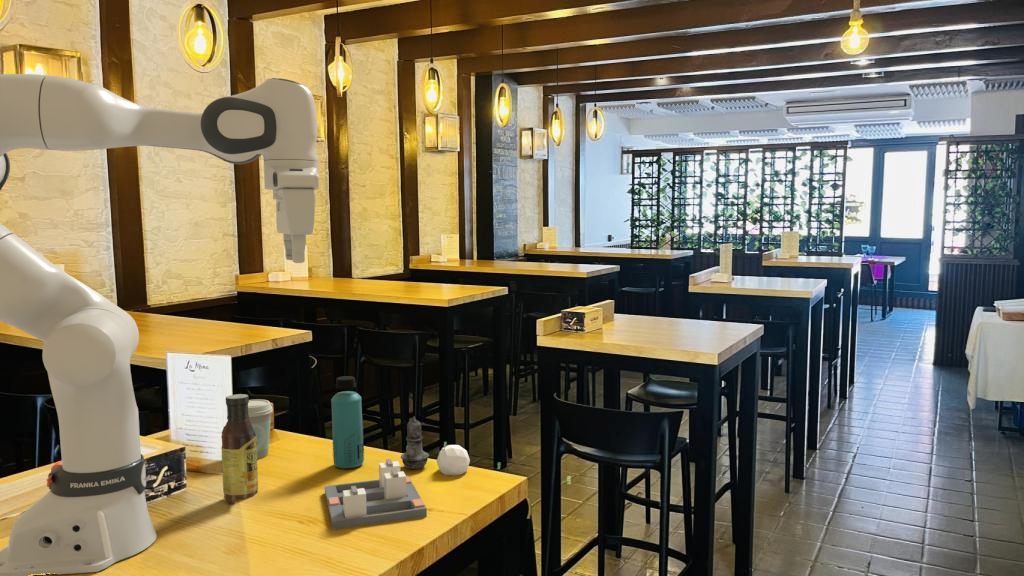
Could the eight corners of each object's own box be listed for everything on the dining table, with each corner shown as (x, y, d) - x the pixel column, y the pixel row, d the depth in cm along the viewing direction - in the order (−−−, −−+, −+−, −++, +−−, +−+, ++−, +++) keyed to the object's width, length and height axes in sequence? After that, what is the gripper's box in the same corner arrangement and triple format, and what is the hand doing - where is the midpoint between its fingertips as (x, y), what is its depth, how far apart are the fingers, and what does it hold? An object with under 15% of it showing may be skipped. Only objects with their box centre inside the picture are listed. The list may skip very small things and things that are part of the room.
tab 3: (387, 505, 130) (386, 475, 130) (384, 499, 133) (383, 470, 132) (406, 502, 131) (406, 473, 131) (403, 497, 134) (403, 468, 134)
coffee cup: (226, 461, 158) (224, 407, 157) (247, 448, 167) (244, 398, 166) (262, 462, 157) (260, 409, 156) (281, 450, 165) (279, 399, 164)
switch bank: (332, 535, 120) (332, 519, 120) (324, 498, 136) (324, 484, 136) (426, 522, 126) (426, 506, 125) (408, 488, 142) (408, 474, 141)
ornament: (471, 481, 145) (450, 456, 142) (444, 487, 148) (424, 463, 145) (479, 456, 150) (460, 432, 147) (454, 463, 153) (434, 440, 150)
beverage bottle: (361, 475, 149) (358, 380, 147) (329, 475, 149) (325, 380, 147) (367, 464, 155) (365, 373, 153) (337, 465, 155) (334, 373, 153)
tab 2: (381, 493, 136) (381, 464, 135) (379, 488, 139) (378, 460, 138) (400, 491, 137) (400, 462, 137) (398, 486, 140) (397, 458, 139)
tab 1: (345, 525, 122) (344, 493, 122) (343, 518, 125) (342, 487, 124) (366, 522, 123) (365, 490, 123) (364, 515, 126) (363, 484, 125)
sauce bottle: (255, 504, 134) (250, 399, 132) (220, 506, 133) (215, 401, 131) (261, 491, 141) (257, 391, 139) (228, 493, 140) (223, 393, 138)
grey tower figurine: (424, 478, 147) (422, 420, 146) (396, 476, 148) (395, 419, 147) (432, 468, 153) (431, 413, 152) (406, 466, 154) (405, 411, 153)
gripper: (266, 182, 129) (269, 258, 130) (278, 175, 110) (282, 265, 112) (302, 182, 132) (305, 258, 133) (320, 176, 113) (323, 264, 114)
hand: (294, 261), depth 122 cm, fingers open, 8 cm apart
